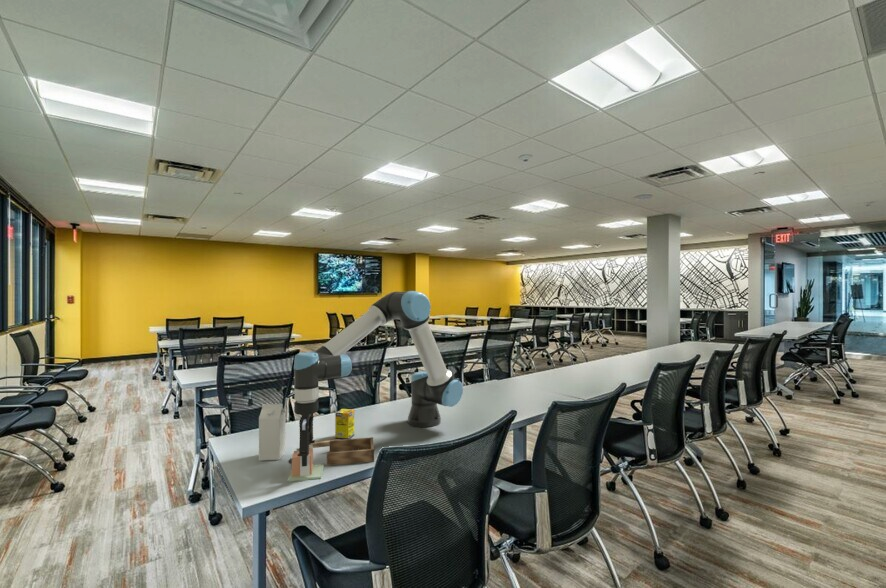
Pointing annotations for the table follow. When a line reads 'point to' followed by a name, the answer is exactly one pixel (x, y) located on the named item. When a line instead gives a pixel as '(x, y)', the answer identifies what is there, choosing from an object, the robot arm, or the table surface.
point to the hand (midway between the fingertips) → (306, 469)
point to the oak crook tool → (322, 443)
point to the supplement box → (344, 424)
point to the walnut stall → (346, 453)
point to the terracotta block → (297, 463)
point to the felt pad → (315, 475)
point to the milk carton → (271, 432)
